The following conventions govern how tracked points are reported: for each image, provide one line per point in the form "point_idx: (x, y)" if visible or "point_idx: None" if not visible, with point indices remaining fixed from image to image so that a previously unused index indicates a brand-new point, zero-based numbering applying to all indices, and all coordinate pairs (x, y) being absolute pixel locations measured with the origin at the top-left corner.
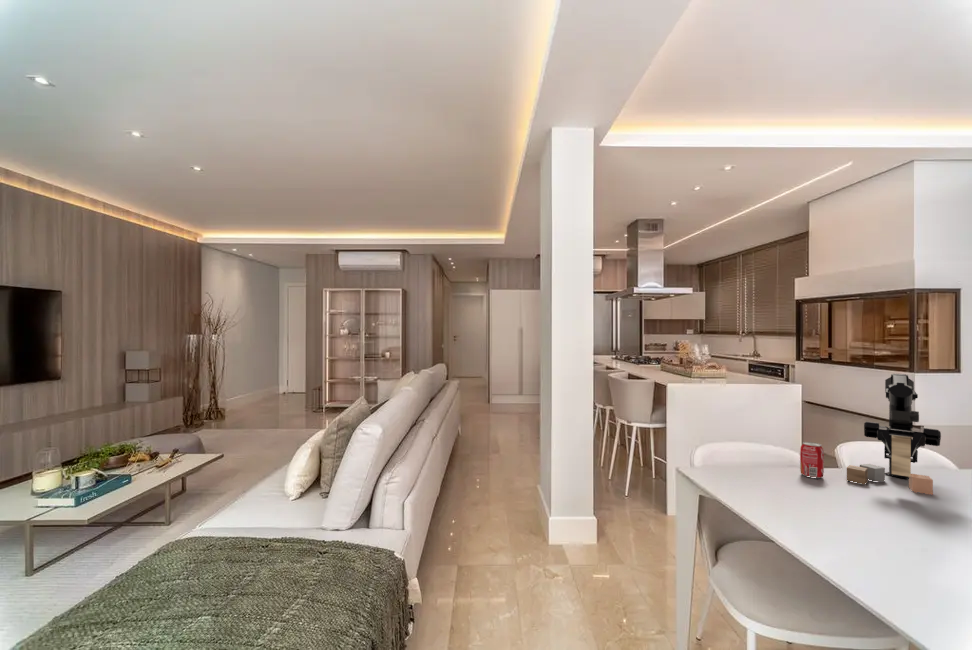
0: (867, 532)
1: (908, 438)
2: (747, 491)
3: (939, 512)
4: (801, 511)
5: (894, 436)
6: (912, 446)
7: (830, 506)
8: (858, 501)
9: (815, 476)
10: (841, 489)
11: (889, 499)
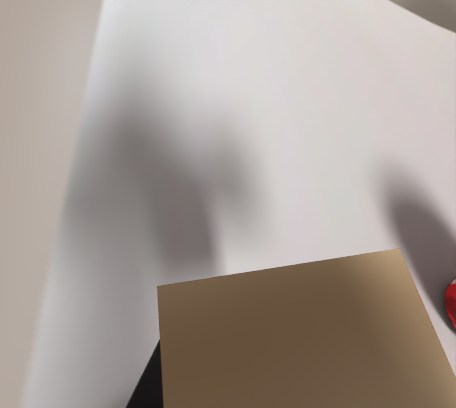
0: (221, 3)
1: (199, 403)
2: (422, 56)
3: (115, 213)
4: (317, 23)
5: (417, 379)
6: (156, 405)
7: (302, 74)
8: (281, 147)
9: (453, 281)
10: (349, 226)
11: (234, 234)
